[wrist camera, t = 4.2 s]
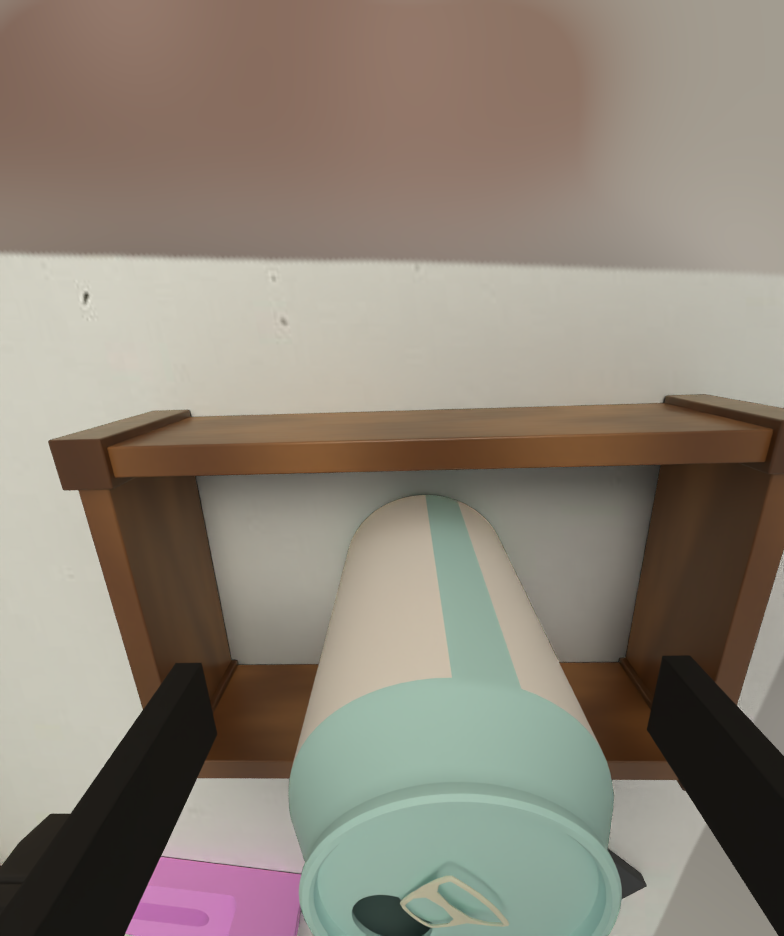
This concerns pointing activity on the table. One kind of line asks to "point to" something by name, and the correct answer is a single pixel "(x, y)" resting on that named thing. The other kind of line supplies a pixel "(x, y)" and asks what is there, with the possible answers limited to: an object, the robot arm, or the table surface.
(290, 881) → the bracket
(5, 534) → the table surface
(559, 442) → the crate
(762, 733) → the robot arm
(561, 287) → the table surface
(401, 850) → the can
